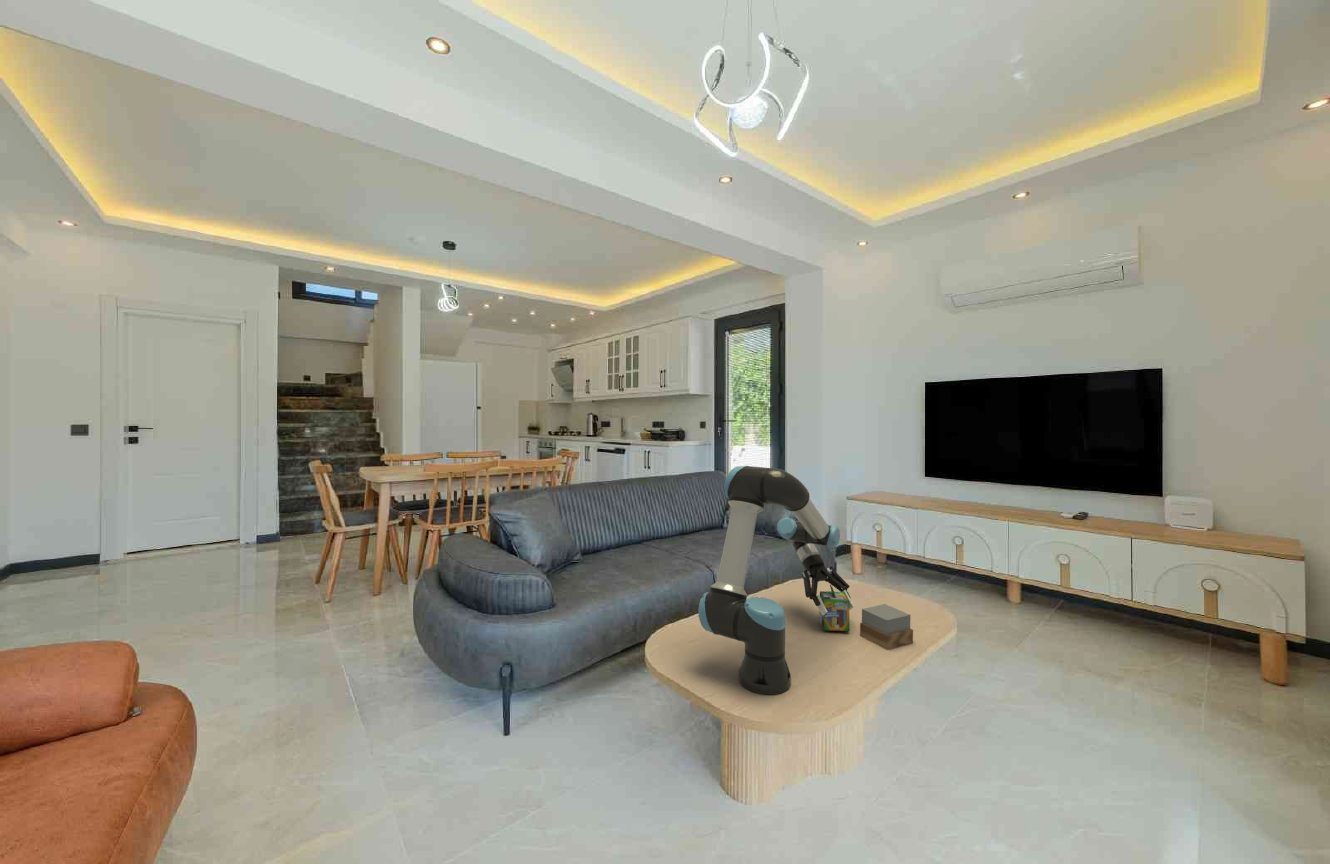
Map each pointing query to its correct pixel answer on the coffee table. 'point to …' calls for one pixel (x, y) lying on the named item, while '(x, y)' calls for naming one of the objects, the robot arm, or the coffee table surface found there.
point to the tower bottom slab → (886, 637)
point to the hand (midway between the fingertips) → (838, 610)
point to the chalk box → (835, 611)
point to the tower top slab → (886, 619)
